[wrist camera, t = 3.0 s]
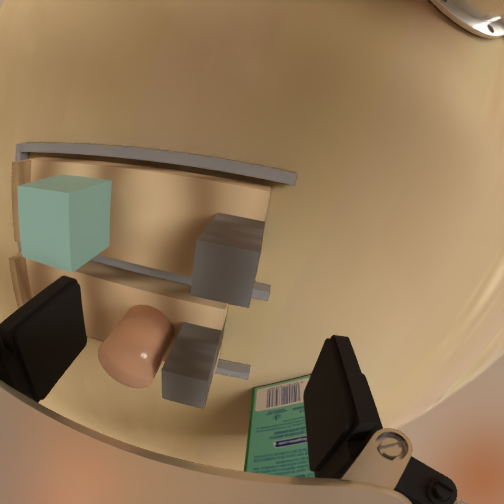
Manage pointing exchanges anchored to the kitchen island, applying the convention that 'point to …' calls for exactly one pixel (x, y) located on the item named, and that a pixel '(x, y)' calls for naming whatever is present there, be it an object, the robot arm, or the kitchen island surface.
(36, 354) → the robot arm
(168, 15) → the kitchen island surface
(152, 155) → the lane frame
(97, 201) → the teal cube
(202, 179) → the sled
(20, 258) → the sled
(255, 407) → the milk carton
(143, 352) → the rounded peach cylinder
